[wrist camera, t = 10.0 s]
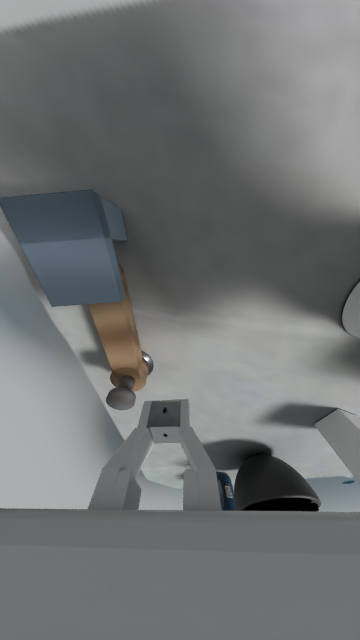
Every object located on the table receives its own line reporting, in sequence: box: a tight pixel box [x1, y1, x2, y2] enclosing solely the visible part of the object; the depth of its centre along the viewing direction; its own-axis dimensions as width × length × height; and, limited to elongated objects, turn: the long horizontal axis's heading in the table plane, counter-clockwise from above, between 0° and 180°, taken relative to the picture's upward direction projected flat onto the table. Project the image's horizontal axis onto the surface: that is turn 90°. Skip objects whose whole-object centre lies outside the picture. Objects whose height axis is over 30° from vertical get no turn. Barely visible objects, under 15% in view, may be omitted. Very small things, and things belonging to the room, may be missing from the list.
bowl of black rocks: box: [234, 455, 321, 512], centre depth 36 cm, size 20×20×19 cm
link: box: [88, 262, 149, 410], centre depth 19 cm, size 21×6×7 cm, turn 3°
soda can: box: [216, 473, 236, 511], centre depth 45 cm, size 7×7×12 cm
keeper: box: [0, 190, 128, 307], centre depth 15 cm, size 8×7×6 cm
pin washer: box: [141, 351, 153, 376], centre depth 26 cm, size 7×7×1 cm
